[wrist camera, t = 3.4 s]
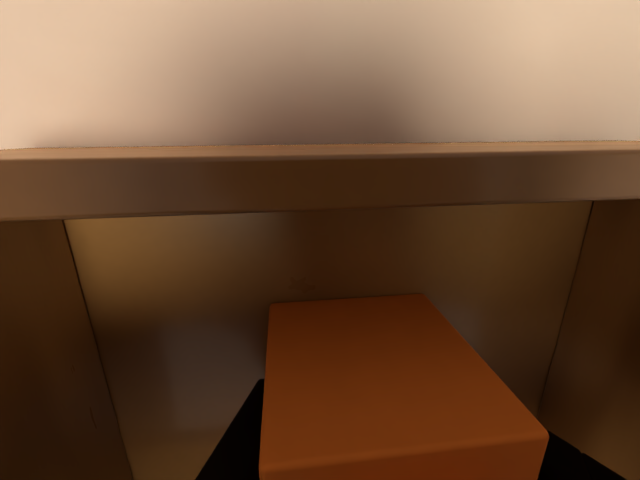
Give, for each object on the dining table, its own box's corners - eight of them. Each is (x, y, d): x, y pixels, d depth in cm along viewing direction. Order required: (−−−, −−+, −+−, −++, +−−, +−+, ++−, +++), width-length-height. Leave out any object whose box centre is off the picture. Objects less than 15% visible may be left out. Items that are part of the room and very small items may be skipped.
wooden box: (522, 471, 12) (634, 626, 9) (136, 522, 11) (54, 740, 7) (610, 140, 9) (890, 144, 5) (29, 148, 7) (-289, 163, 3)
